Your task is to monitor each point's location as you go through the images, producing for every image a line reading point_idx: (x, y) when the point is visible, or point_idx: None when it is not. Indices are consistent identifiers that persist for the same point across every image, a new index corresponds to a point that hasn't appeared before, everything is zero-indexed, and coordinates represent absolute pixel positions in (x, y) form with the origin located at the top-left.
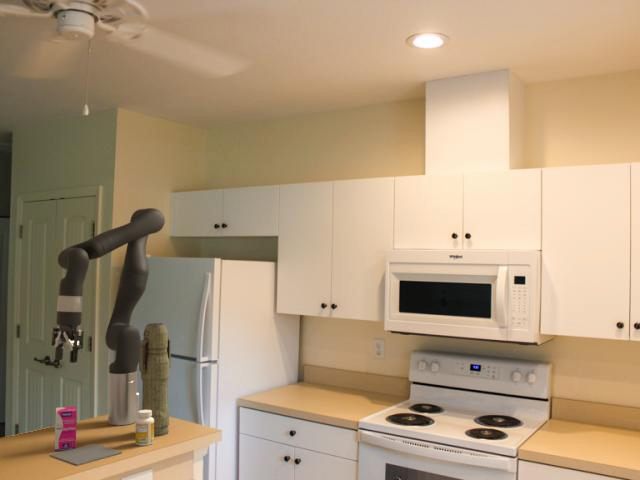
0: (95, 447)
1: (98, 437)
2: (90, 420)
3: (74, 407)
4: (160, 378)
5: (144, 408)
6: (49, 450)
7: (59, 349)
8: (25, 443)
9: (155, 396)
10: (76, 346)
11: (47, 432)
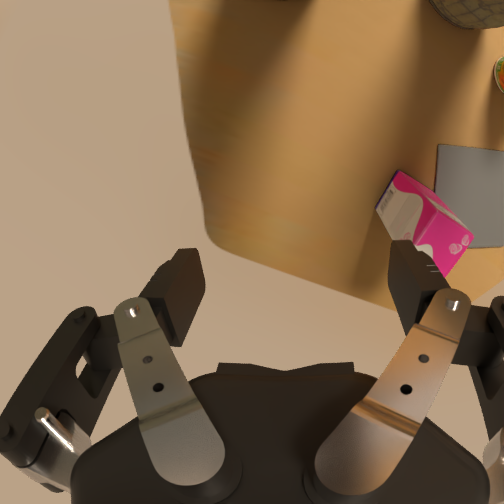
0: (464, 163)
1: (390, 95)
2: (183, 21)
3: (445, 222)
4: None
5: (500, 18)
6: None
7: (175, 321)
8: (294, 238)
9: None
10: (498, 362)
11: (230, 159)
